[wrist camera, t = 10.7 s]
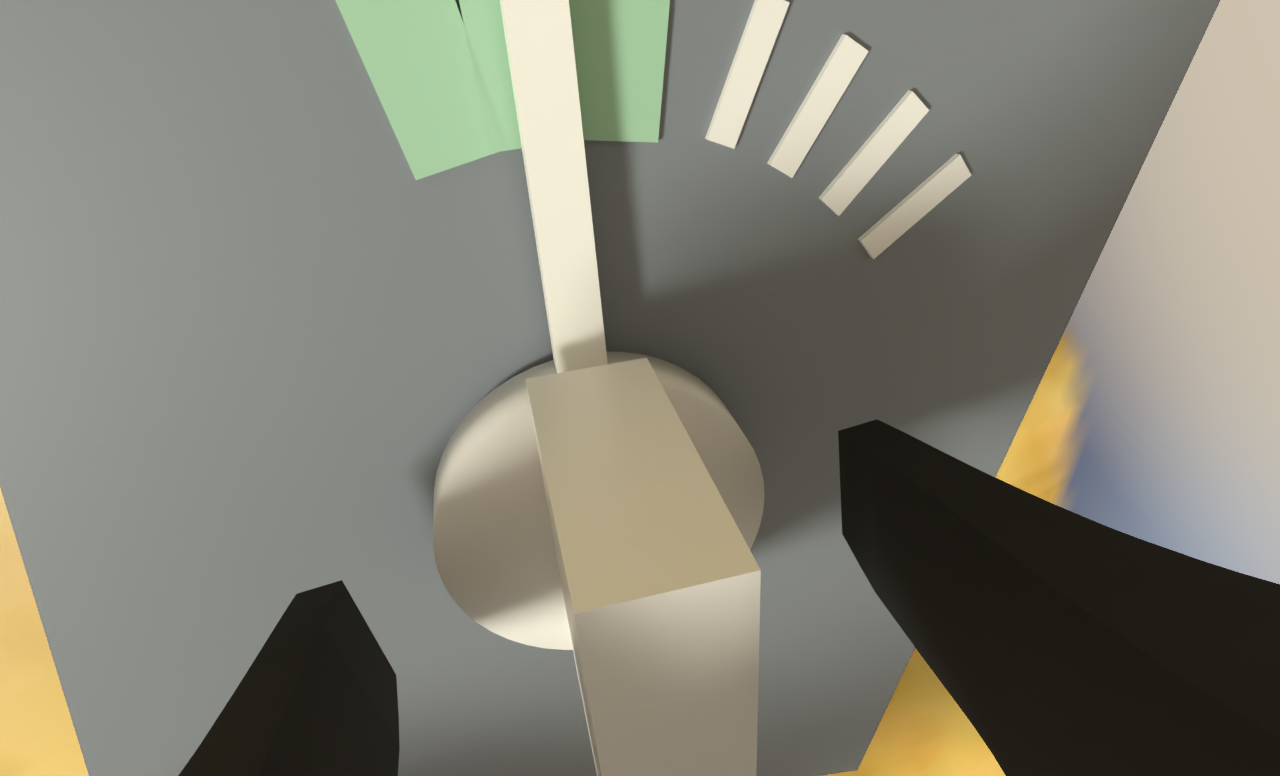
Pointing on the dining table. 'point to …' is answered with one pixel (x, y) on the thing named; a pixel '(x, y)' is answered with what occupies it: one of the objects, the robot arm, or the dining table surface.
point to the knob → (606, 486)
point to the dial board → (513, 313)
